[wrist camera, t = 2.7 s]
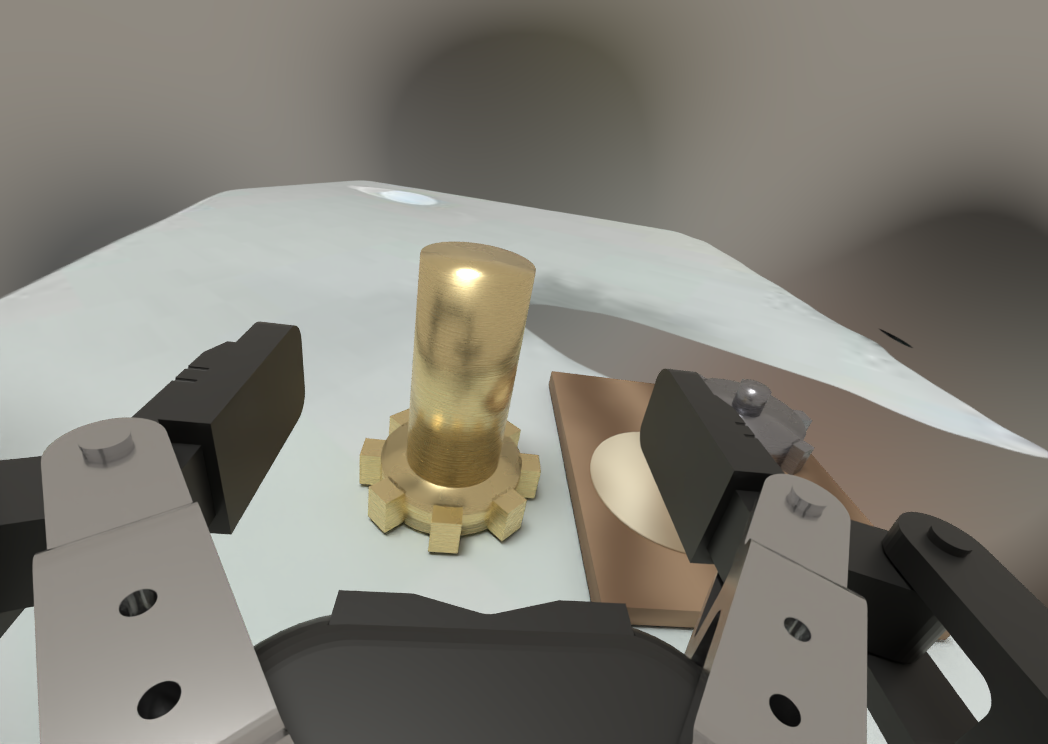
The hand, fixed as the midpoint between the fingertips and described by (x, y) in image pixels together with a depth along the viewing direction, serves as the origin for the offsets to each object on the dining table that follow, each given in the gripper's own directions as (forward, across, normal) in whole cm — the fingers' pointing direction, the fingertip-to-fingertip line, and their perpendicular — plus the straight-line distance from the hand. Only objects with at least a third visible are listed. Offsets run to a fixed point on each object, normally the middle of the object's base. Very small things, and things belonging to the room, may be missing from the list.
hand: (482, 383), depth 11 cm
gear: (+18, -20, +13) cm, 29 cm away
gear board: (+14, -16, +14) cm, 25 cm away
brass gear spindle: (+12, 0, +14) cm, 18 cm away
